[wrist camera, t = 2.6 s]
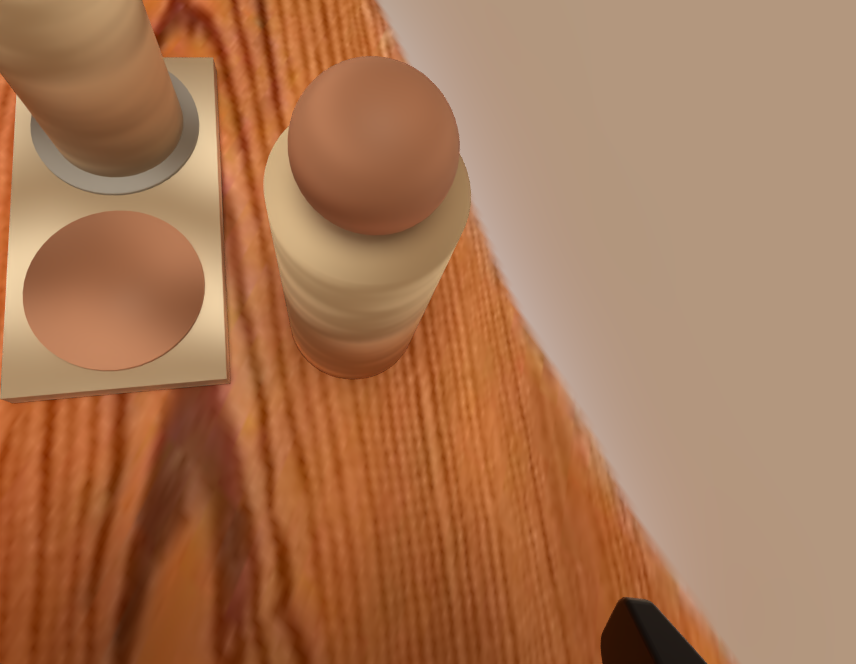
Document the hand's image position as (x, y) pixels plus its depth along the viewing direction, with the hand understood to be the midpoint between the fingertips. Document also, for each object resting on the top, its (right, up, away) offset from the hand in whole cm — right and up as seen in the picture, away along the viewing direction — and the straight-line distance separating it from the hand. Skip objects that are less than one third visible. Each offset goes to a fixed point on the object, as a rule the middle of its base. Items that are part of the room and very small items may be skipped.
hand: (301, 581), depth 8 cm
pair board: (-10, +8, +15) cm, 19 cm away
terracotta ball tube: (-1, +4, +15) cm, 15 cm away
